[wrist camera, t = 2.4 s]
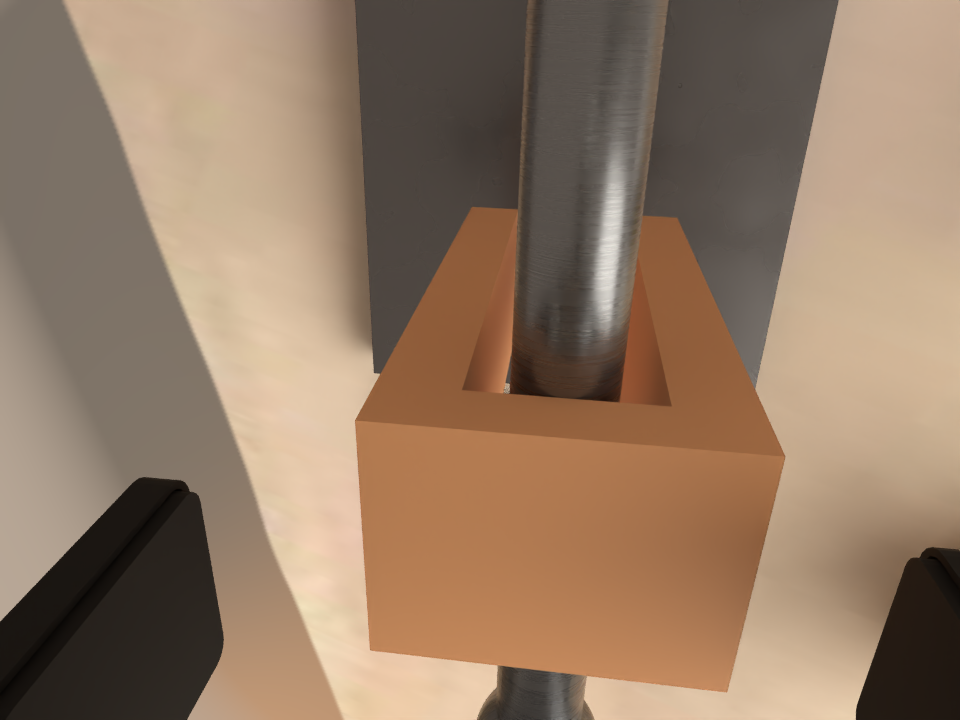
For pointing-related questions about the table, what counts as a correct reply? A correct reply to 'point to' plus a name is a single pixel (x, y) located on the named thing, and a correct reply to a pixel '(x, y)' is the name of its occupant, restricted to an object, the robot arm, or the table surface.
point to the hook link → (565, 482)
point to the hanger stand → (584, 177)
